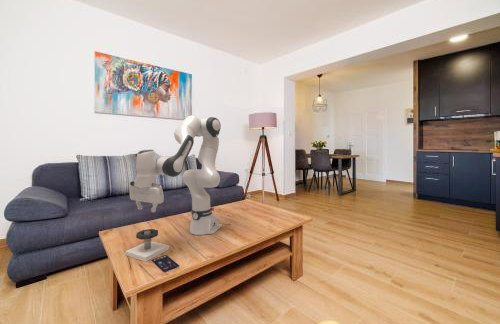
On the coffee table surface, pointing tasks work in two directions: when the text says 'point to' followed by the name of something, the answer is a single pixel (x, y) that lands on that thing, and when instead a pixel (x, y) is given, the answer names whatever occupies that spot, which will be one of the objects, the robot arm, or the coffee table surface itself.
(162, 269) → the smartphone
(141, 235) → the ring
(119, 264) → the coffee table surface
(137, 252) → the pipe stand
